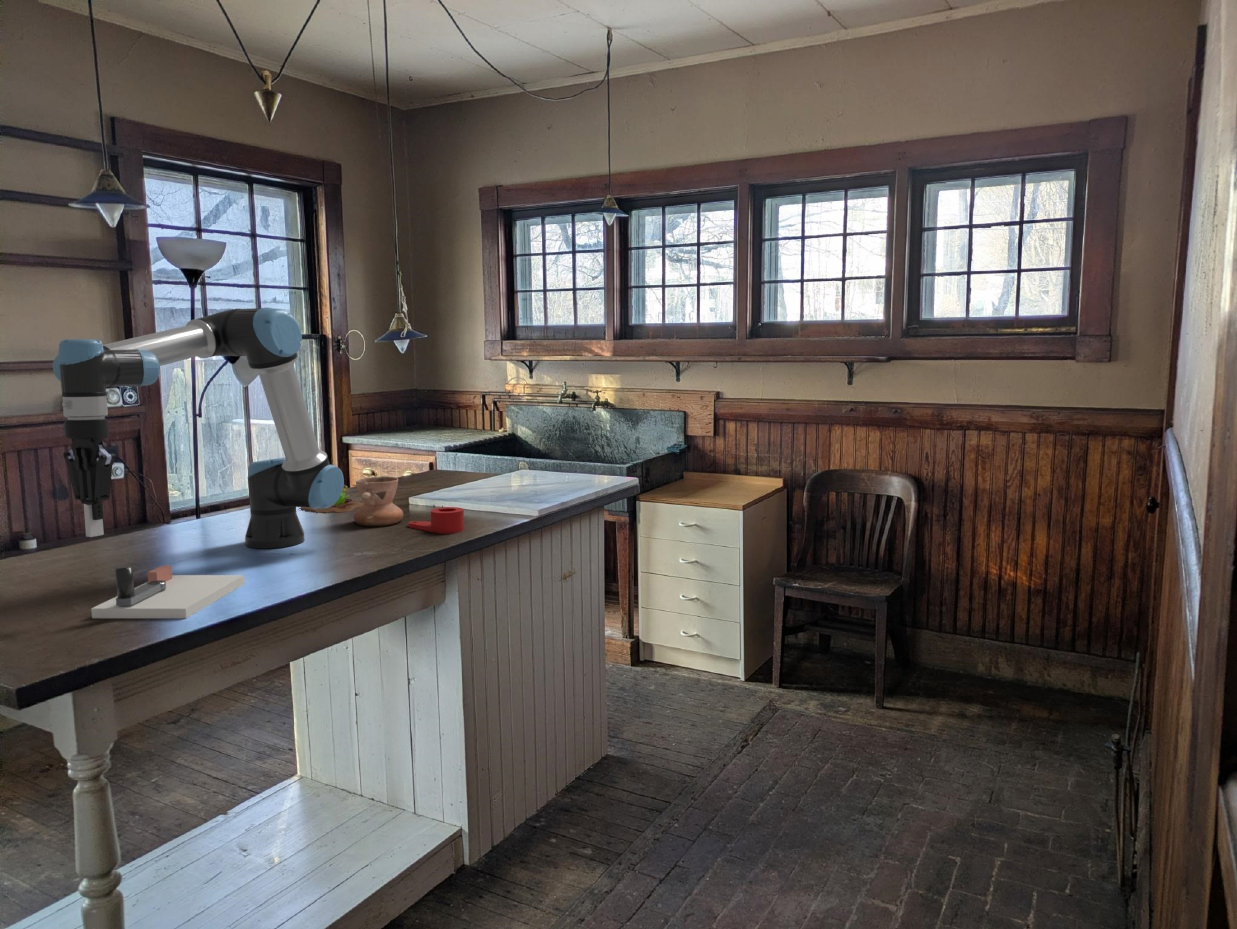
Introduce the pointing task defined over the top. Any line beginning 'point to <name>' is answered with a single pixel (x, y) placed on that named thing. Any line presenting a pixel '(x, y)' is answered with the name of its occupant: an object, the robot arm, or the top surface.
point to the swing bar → (126, 587)
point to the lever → (442, 521)
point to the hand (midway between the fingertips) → (94, 535)
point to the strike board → (173, 596)
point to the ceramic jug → (377, 502)
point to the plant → (338, 505)
